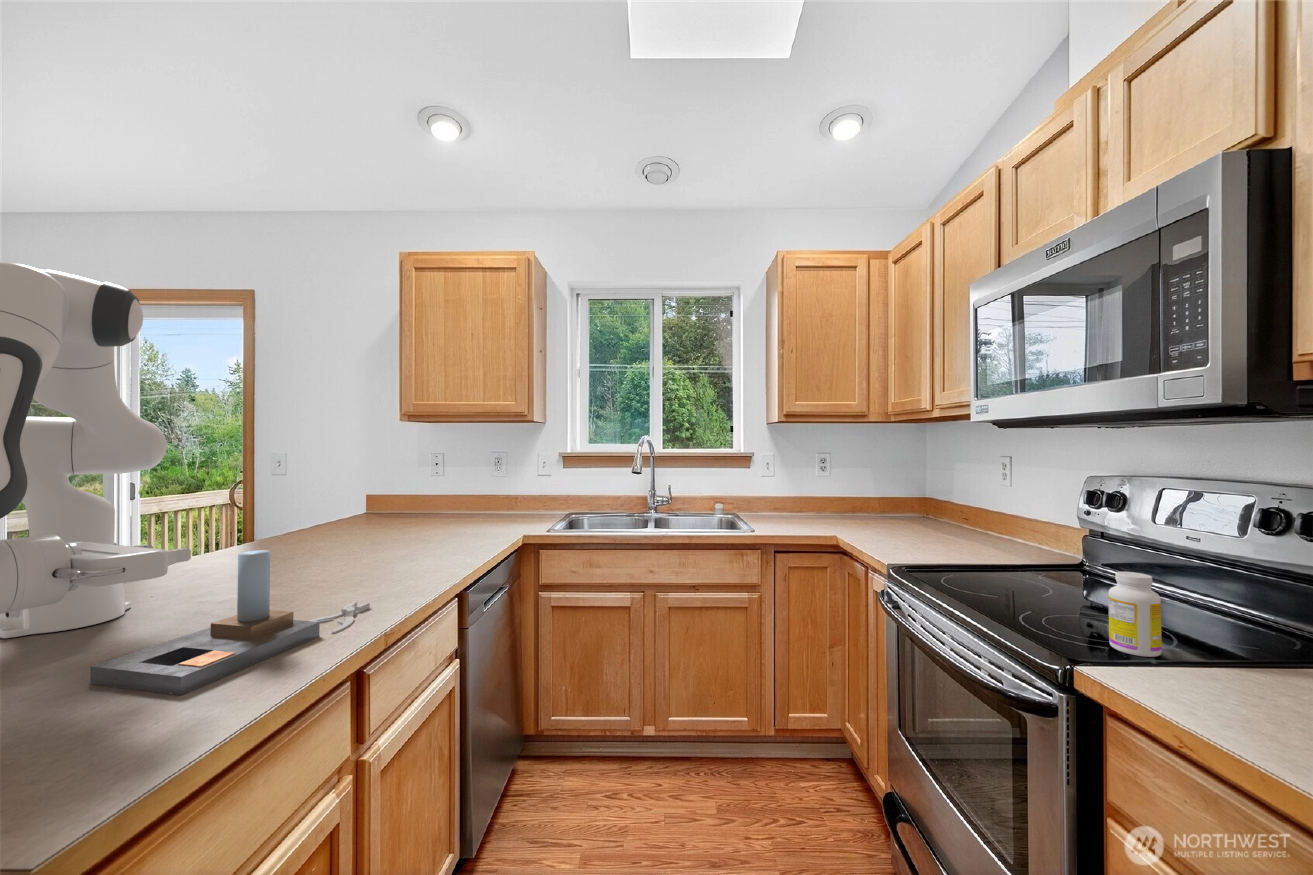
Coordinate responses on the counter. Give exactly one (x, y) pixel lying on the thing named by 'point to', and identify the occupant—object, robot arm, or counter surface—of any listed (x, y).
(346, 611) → the pliers
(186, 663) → the rack
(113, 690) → the counter surface
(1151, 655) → the supplement bottle
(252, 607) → the peg
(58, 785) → the counter surface
